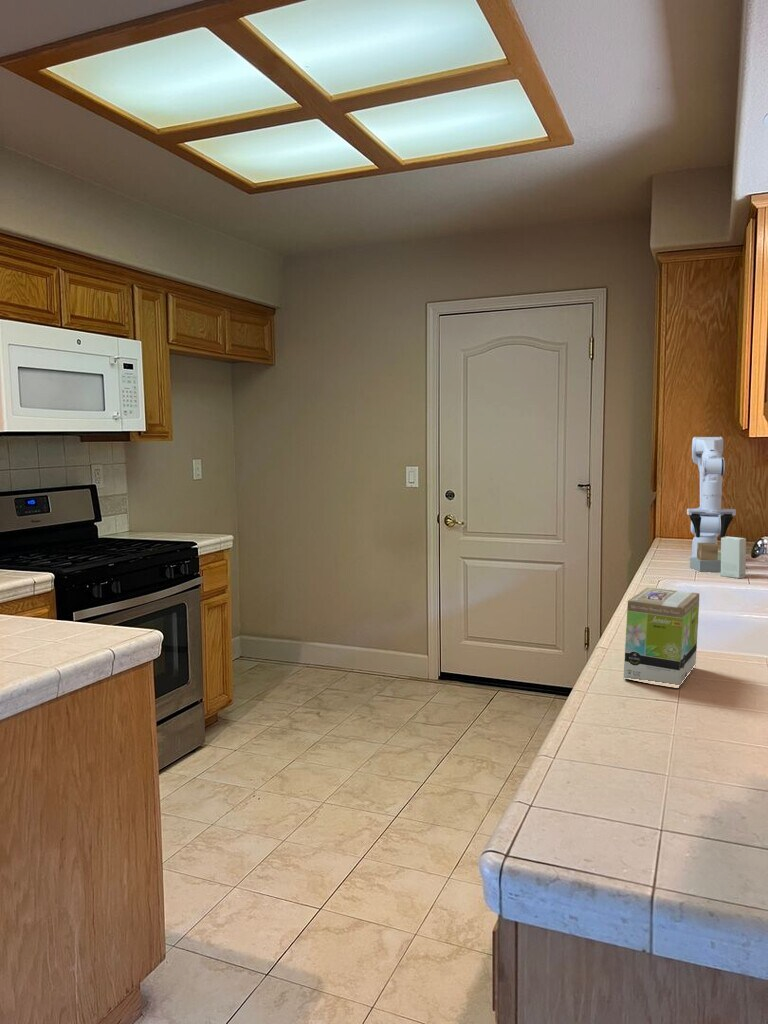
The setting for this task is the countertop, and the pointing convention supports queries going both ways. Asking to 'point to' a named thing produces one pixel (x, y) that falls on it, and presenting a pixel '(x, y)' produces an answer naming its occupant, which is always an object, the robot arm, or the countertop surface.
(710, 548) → the walnut cube
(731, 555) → the skincare box
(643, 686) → the countertop surface
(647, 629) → the tea box
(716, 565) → the slate block
